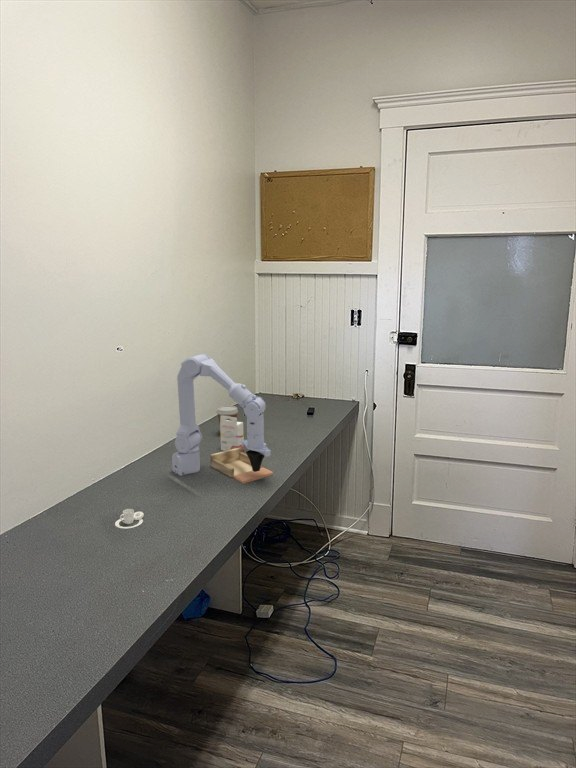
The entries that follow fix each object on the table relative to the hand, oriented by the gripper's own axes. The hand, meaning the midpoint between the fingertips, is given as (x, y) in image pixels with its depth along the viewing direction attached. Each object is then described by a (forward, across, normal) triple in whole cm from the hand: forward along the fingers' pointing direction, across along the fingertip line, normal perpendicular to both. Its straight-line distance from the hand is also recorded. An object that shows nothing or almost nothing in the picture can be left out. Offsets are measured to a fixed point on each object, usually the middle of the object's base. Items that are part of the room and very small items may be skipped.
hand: (256, 470), depth 195 cm
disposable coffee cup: (+4, +53, -22) cm, 58 cm away
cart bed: (+4, +13, 0) cm, 14 cm away
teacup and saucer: (+5, -3, +45) cm, 45 cm away
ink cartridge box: (+4, +34, -12) cm, 36 cm away
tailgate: (+3, +5, 0) cm, 5 cm away
